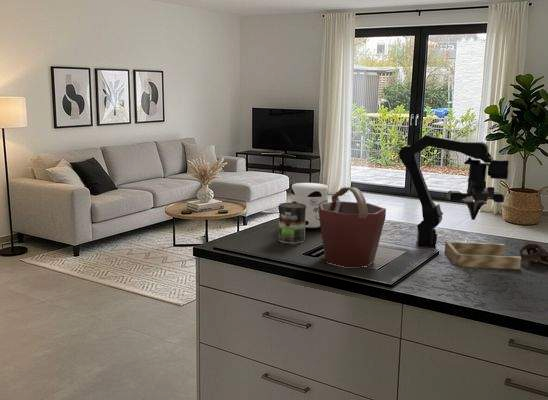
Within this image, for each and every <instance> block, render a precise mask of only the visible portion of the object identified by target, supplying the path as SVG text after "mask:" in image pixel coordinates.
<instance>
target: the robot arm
mask: <svg viewBox="0 0 548 400" xmlns="http://www.w3.org/2000/svg"><path fill="white" fill-rule="evenodd" d="M428 147H431V148H437V149H442V150H446V151H452V152H457V153H460V154H463V155H465V156H468V158H467V160H465V161H464V162H463V164H464V165H469V167H468V168H469V169H468V178H467V188H466V193H462V192H461V191H460V190H448V191H447V195H446V198H447V199H448V200H449V201H455V202H458V201H461V200H462V201H463V202H464V203H465V204H466V206H467V208H468V212H469V216H470V219H471V220H472V221H474V220H476V218H477V216H478V214H479V211H480V210H481V208H482V207H483V206H484V205H487V204H488V200H492V201H493V202H494V203H504V202H505V196H504V194H502V193H501V192H498V191H495V188H494V187H493V186H488V187H487V181H486V177H487V176H489V177H490V179H495V180H506V181H507V180H509V173H510V168H509V163H510V160H508V159H503V160H501V159H494V158H493V156H492V155H491V153H490V152H489V151H490V150H489V146H488V144H487V143H486V142H483V141H460V140H455V139H451V138H450V139H449V138H445V137H440V136H439V137H438V136H433V135H430V134H427V135H424V136H422V137H421V138H420V139H418V140H417V141H415V142H414V143H412V144H409V145H406V146H402V147H401V148H400V149H399V152H398V157H399V159H400V161H401V162H402V164H403V165H404V167H405V168H406V169H407V171H408V172H409V175H410V178H411V180H412V183H413V186H414V189H415V191H416V193H417V196H418V199H419V202H420V204H421V205H420V206H421V211H422V212H421V213H422V214H421V215H422V221H420V222H419V223H418V224H417V226H416V227H417V231H416V232H417V233H416V235H417V236H416V241H415V244H416V245H417V247H420V248H436V247H437V242H438V241H437V238H438V234H437V232H436V231H437V230H436V229H435V228H436V227H438V226H439V225H440V223H442V221H443V215H444V213H443V211H442V209H441V205H440V204H435V202H434V201H433V199H432V197H431V193H430V191H429V188H428V186H427V183H426V179H425V177H424V175H423V172H422V170H421V167H420V155H419V153H420V152H422V151H424V150H425V149H426V148H428ZM486 175H487V176H486Z"/></svg>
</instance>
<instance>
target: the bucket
mask: <svg viewBox="0 0 548 400" xmlns="http://www.w3.org/2000/svg"><path fill="white" fill-rule="evenodd" d="M348 191H350V192H352V194H353V196H354V198H355V200H356V201H346V200H345V201H343V200H342V201H341V200H340V199H339V197H342V196H343V195H345V194H346V193H347V192H348ZM386 210H387V208H385V207H381V206H379V205H375V204H373V203H370V202H369V203H368V202H367V201H366V198H365V196H364V194H363V192H362V190H360V189H359V188H357V187H354V186H353V187H350V186H347V187H346V186H345V187H344V186H343V187H341V188H340V189H339V190H338V191H336V192H335V193H333V195H331V202H330V201H329V202H328V203H322V204H319V219H320V226H321V229H320V232H321V238H322V239H321V240H322V244H323V245H322V246H323V253H324V259H325V260H324V261H325V263H326V262H328V263H332V264H336V265H340V266H344V267H362V266H363V267H364V266H368V265H369V264H370V263H371V262H373V261H374V262H375V259H376V253H377V252H378V248H379V243H380V239H381V237H382V236H381V235H382V232H383V229H384V225H385V222H386V221H385V220H386V215H387V211H386ZM374 262H373V263H374ZM369 266H370V265H369ZM369 266H368V267H369Z"/></svg>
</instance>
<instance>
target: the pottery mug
mask: <svg viewBox="0 0 548 400" xmlns="http://www.w3.org/2000/svg"><path fill="white" fill-rule="evenodd" d="M524 251H526V253H527V254H526V253H523V252H524ZM518 257H521V263H522V262H525V263H530V262H535V261H537V262H538V261H539V262H543V263H547V264H548V251H547V250H546V248H544V247H542V245H541V244H540V243H538V242H537V243H536V242H530V243H526V244H524V245H523V246H521V247H520V248H519V255H518Z"/></svg>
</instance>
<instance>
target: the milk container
mask: <svg viewBox="0 0 548 400" xmlns="http://www.w3.org/2000/svg"><path fill="white" fill-rule="evenodd" d="M290 193H291V194H290V201H291V202H290V203H301V204H304V205H306V217H305V230H321V226H320V219H319V204H322V203H329V186H328V185H327V184H324V183H317V182H297V183H293V184H291V192H290Z"/></svg>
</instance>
